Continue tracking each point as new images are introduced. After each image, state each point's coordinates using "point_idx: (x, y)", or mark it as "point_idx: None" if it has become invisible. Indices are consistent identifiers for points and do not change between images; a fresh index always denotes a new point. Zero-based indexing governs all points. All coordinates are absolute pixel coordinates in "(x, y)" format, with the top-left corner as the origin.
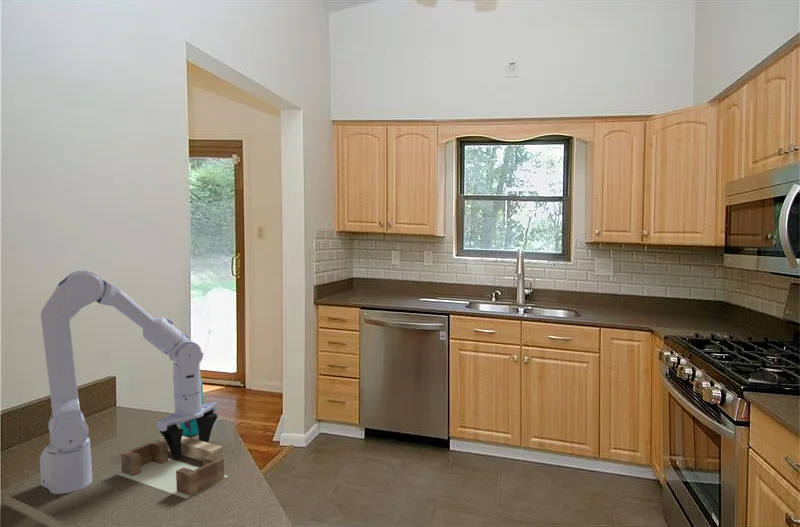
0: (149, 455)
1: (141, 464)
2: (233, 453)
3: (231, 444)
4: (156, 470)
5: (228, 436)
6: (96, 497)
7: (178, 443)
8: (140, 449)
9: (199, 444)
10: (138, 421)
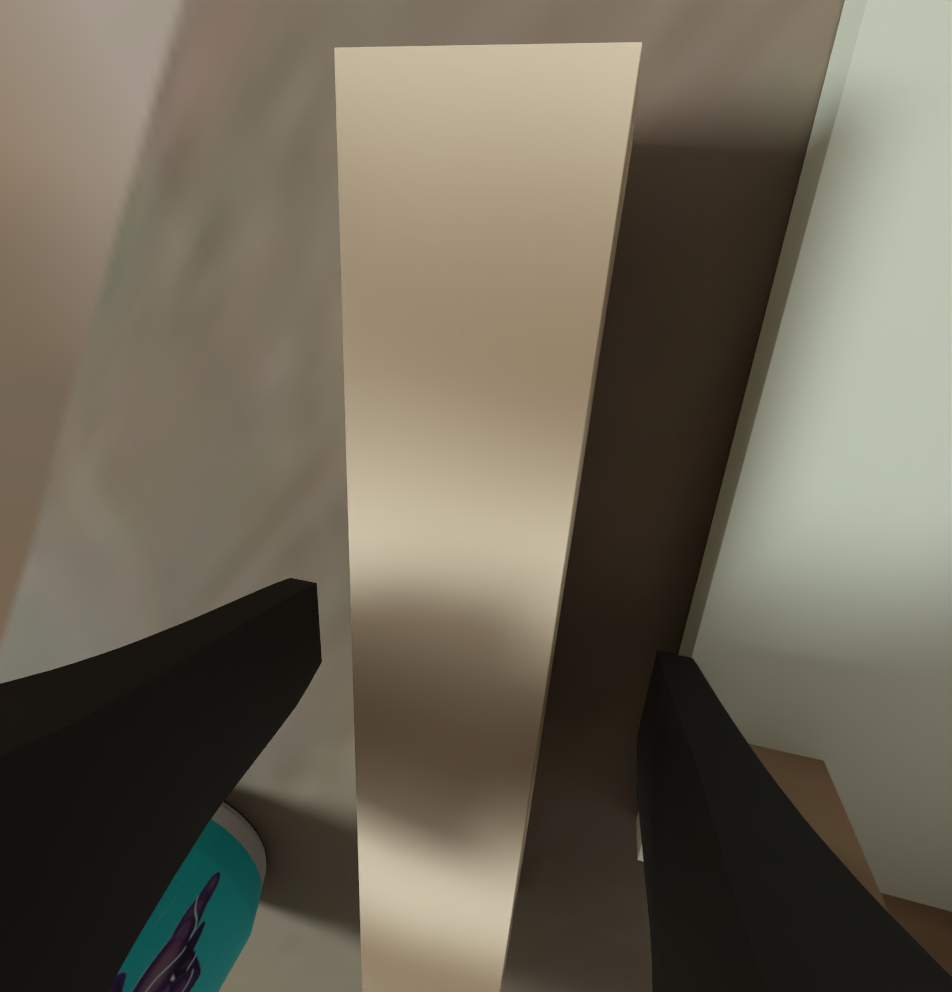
0: None
1: (927, 921)
2: (216, 246)
3: (115, 449)
4: None
5: (55, 592)
6: None
7: (775, 826)
8: None
9: (458, 560)
10: None
